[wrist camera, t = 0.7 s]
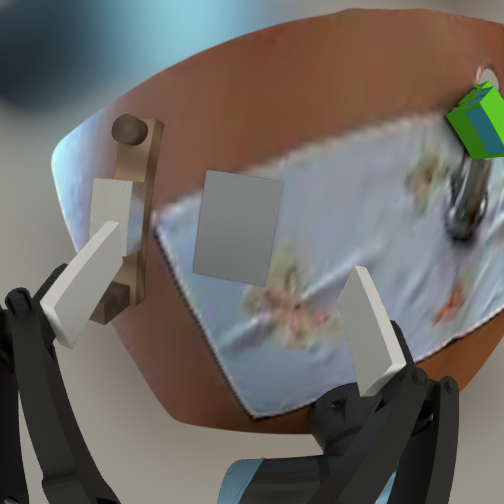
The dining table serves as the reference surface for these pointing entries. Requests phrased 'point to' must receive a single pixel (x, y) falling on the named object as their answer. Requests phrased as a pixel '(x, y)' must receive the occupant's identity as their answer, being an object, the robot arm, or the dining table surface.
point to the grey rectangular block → (119, 210)
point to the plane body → (143, 169)
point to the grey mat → (236, 227)
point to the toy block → (480, 122)
